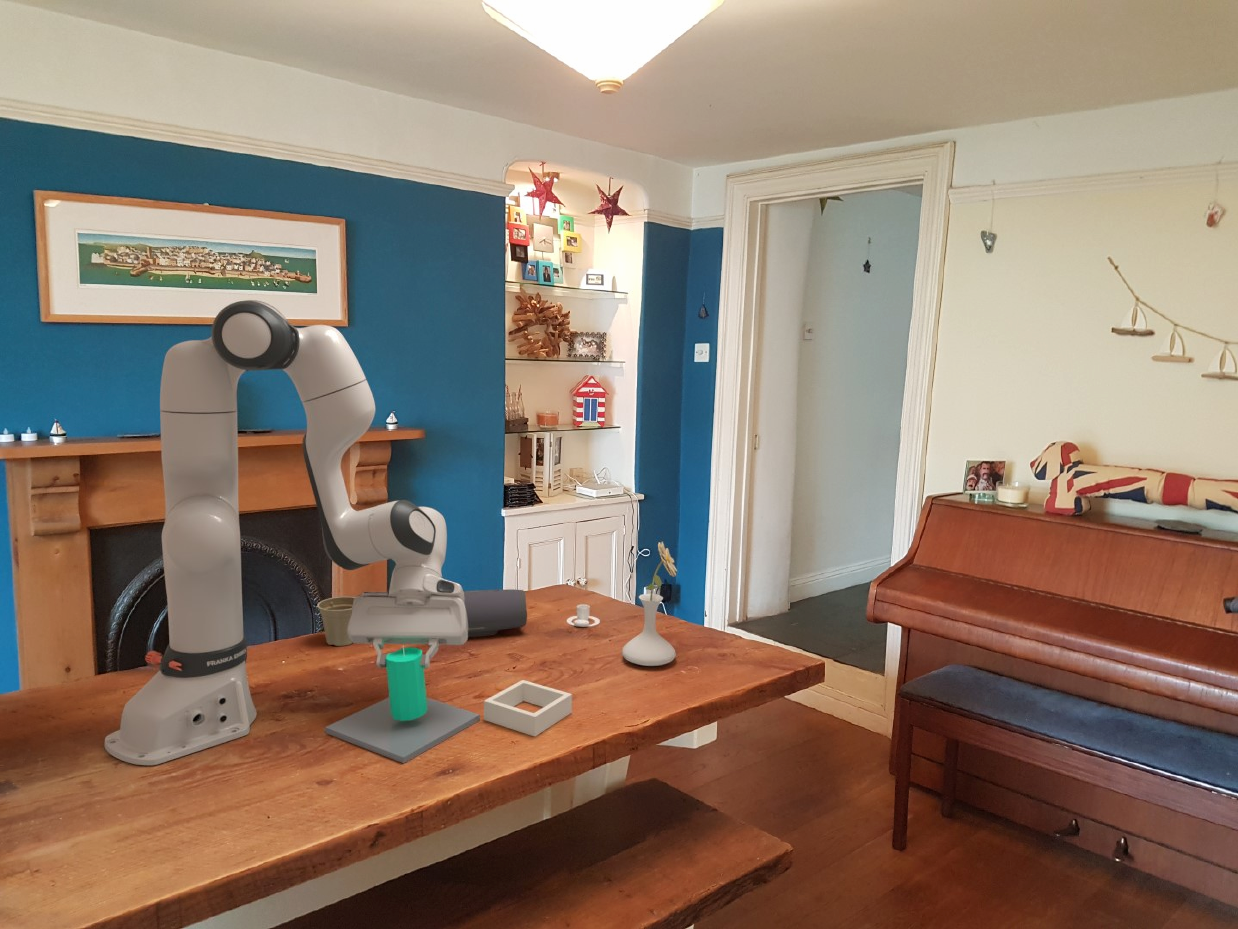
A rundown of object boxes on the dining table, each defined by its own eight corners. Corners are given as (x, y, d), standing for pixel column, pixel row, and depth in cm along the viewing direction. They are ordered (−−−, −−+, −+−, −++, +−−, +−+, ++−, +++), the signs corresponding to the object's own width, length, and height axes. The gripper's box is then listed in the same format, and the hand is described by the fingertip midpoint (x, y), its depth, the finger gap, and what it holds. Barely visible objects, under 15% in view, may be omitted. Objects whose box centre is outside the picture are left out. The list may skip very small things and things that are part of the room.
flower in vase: (659, 675, 164) (664, 554, 160) (611, 662, 170) (614, 545, 166) (688, 656, 175) (693, 542, 171) (642, 644, 181) (646, 534, 177)
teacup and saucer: (585, 632, 189) (585, 615, 188) (557, 624, 193) (558, 608, 193) (606, 622, 196) (606, 605, 196) (579, 615, 200) (579, 599, 200)
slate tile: (403, 763, 127) (403, 757, 127) (325, 732, 136) (324, 727, 136) (479, 720, 142) (479, 714, 142) (404, 695, 151) (404, 690, 151)
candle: (425, 702, 143) (420, 636, 141) (428, 716, 137) (422, 649, 135) (390, 708, 141) (383, 642, 139) (392, 723, 135) (385, 655, 133)
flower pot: (334, 653, 170) (334, 613, 169) (309, 642, 176) (308, 603, 175) (372, 641, 178) (372, 602, 177) (347, 631, 184) (346, 593, 182)
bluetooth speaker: (519, 623, 192) (519, 582, 191) (527, 637, 183) (528, 594, 182) (419, 631, 185) (419, 588, 183) (423, 645, 176) (423, 601, 175)
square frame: (534, 736, 137) (535, 717, 136) (483, 720, 142) (484, 700, 142) (571, 712, 146) (572, 694, 146) (522, 697, 152) (522, 679, 151)
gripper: (351, 583, 142) (335, 658, 134) (469, 585, 143) (461, 659, 135) (359, 599, 147) (344, 673, 139) (473, 601, 148) (465, 674, 140)
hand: (402, 666), depth 137 cm, fingers closed on candle, 6 cm apart
